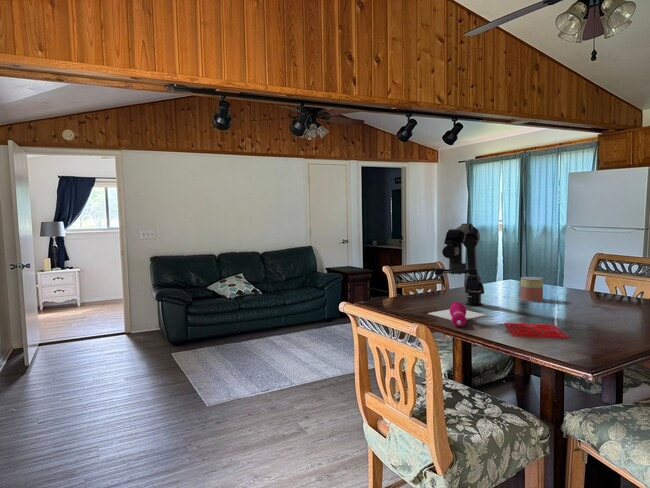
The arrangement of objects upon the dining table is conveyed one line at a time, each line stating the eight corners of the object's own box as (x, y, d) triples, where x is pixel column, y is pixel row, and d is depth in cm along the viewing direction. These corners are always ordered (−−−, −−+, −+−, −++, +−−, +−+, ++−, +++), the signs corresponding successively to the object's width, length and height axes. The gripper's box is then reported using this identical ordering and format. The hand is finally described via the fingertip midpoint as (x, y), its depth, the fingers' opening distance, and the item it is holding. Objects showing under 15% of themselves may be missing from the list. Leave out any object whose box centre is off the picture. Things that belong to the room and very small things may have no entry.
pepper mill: (468, 304, 198) (471, 319, 179) (461, 318, 200) (463, 334, 181) (453, 298, 200) (454, 312, 181) (446, 311, 202) (447, 326, 183)
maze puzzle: (553, 326, 184) (553, 324, 184) (569, 339, 165) (569, 338, 165) (503, 324, 188) (503, 323, 188) (513, 337, 169) (513, 335, 169)
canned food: (544, 298, 239) (544, 277, 239) (541, 302, 230) (542, 280, 229) (521, 297, 245) (522, 276, 245) (518, 300, 236) (519, 278, 235)
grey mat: (457, 308, 219) (457, 308, 219) (486, 315, 203) (486, 314, 203) (427, 314, 209) (427, 313, 209) (456, 321, 193) (456, 320, 193)
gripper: (434, 258, 193) (434, 292, 194) (478, 258, 189) (478, 293, 190) (434, 255, 204) (434, 288, 205) (476, 255, 199) (476, 289, 200)
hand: (455, 289), depth 200 cm, fingers open, 9 cm apart
